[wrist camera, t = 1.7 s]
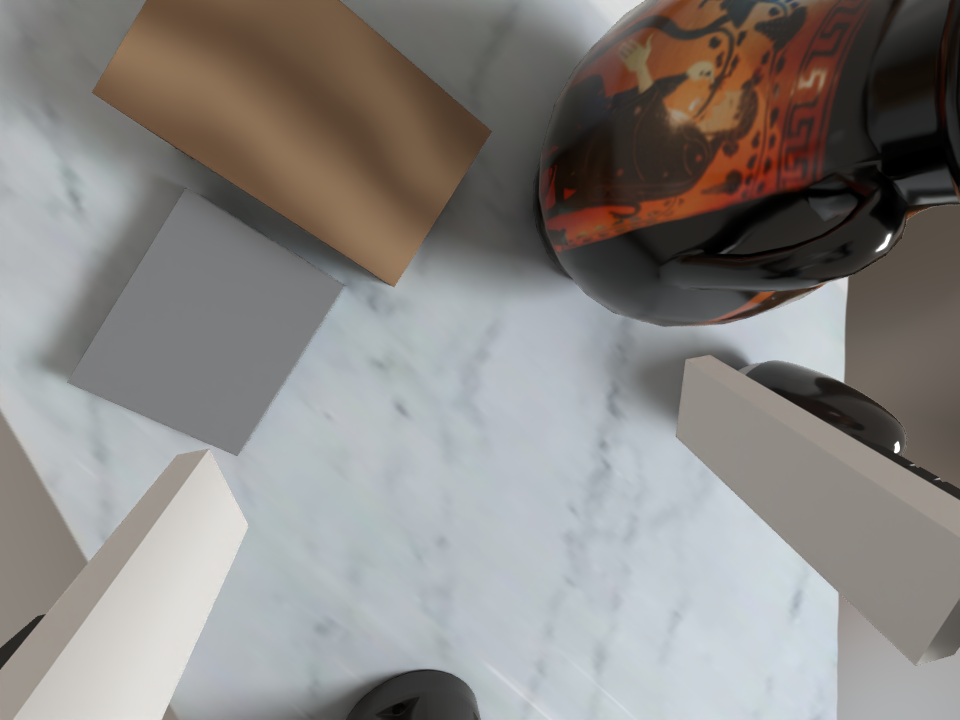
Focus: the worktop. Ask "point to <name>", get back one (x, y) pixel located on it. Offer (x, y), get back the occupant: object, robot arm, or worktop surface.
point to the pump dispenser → (831, 402)
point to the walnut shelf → (301, 117)
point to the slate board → (208, 326)
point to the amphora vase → (747, 151)
